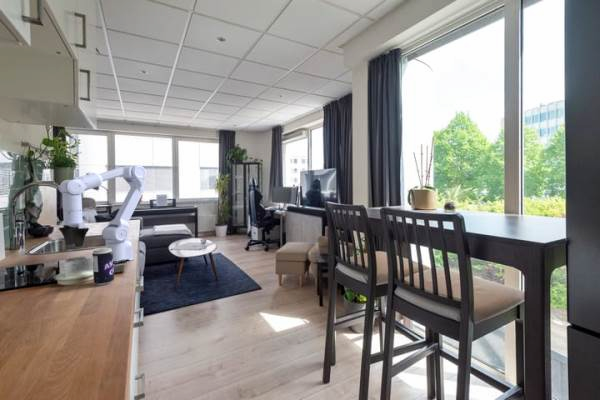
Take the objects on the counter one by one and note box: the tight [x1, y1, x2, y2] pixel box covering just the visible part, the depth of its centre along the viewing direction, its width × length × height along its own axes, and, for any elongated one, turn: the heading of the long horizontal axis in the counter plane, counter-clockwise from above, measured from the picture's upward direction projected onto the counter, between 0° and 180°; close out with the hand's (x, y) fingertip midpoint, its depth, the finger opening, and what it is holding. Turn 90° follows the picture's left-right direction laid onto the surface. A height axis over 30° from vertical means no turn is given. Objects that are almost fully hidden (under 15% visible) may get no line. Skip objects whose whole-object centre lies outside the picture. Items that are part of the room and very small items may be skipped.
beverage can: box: [91, 246, 115, 286], centre depth 95 cm, size 6×6×12 cm
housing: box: [58, 255, 93, 278], centre depth 98 cm, size 8×5×5 cm, turn 147°
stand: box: [54, 271, 94, 286], centre depth 99 cm, size 12×12×2 cm
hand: (74, 245), depth 108 cm, fingers open, 7 cm apart
